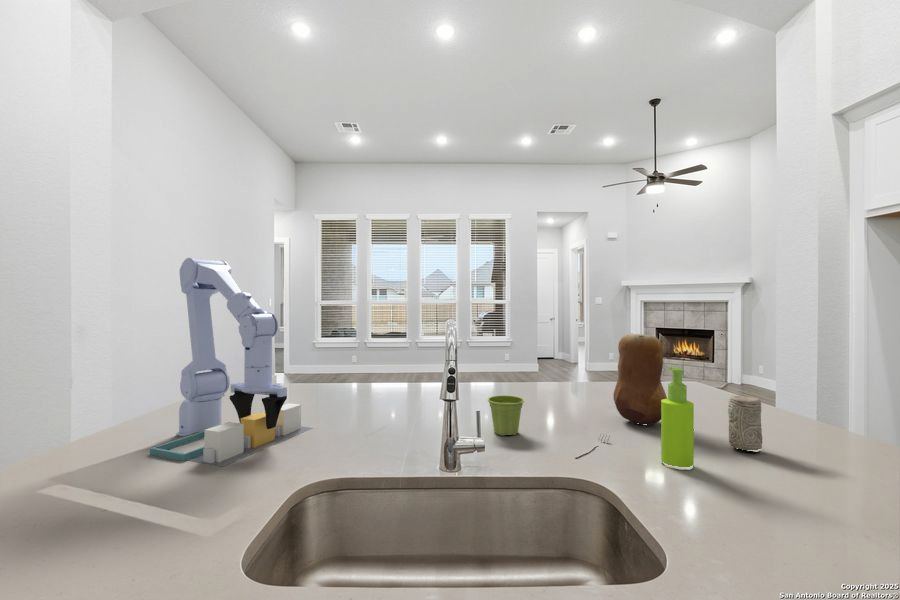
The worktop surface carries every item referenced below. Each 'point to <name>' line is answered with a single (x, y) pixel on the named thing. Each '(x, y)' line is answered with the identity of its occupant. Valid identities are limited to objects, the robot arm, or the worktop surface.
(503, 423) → the plant pot
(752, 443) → the carving
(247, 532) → the worktop surface
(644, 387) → the butternut squash
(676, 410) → the soap dispenser
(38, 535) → the worktop surface
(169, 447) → the tray
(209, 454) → the board
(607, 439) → the fork
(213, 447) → the block
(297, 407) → the block
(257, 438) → the yellow rectangular block
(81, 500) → the worktop surface
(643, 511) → the worktop surface
